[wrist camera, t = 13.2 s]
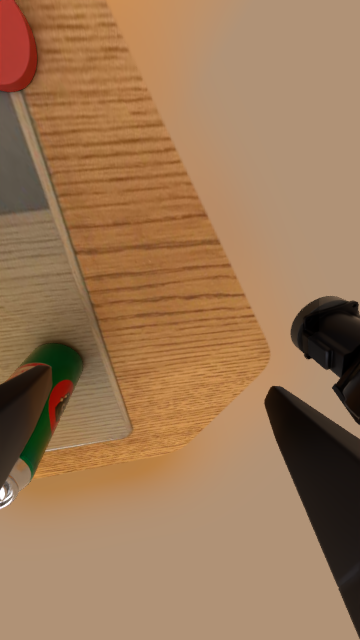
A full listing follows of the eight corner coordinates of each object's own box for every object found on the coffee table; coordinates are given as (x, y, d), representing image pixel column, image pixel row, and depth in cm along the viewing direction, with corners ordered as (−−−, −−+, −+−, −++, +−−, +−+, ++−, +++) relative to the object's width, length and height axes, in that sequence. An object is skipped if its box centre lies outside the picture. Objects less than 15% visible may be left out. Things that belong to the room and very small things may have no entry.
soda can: (63, 331, 21) (-32, 449, 10) (94, 367, 23) (43, 496, 12) (21, 353, 22) (-111, 488, 11) (55, 386, 24) (-26, 526, 13)
